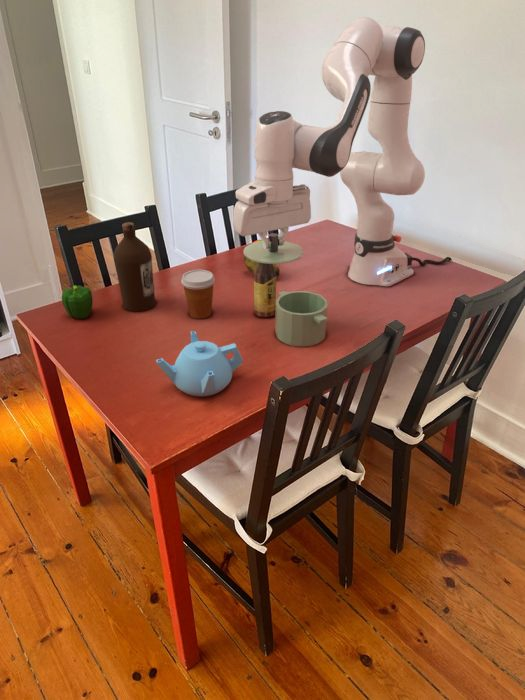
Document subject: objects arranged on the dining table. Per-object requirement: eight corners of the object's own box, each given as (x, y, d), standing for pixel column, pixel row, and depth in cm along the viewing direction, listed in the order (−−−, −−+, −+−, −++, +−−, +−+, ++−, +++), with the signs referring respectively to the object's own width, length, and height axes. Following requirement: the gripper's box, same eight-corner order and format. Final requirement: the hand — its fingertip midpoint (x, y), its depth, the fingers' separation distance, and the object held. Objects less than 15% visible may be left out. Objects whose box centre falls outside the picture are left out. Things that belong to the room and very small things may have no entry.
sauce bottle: (271, 320, 151) (271, 254, 141) (251, 316, 153) (249, 251, 142) (278, 310, 156) (279, 246, 146) (259, 306, 158) (258, 243, 148)
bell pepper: (69, 309, 157) (62, 278, 152) (97, 307, 158) (91, 277, 153) (62, 322, 150) (55, 291, 145) (92, 321, 151) (85, 289, 146)
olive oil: (115, 310, 157) (101, 228, 143) (131, 294, 165) (119, 216, 152) (148, 314, 154) (137, 232, 141) (162, 298, 163) (153, 219, 150)
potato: (261, 285, 171) (261, 262, 166) (240, 272, 180) (239, 249, 175) (282, 279, 174) (282, 256, 170) (260, 266, 183) (260, 244, 179)
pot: (300, 313, 155) (301, 283, 150) (342, 341, 141) (344, 310, 136) (261, 325, 149) (260, 295, 144) (300, 356, 135) (301, 324, 130)
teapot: (212, 410, 117) (209, 369, 111) (157, 391, 123) (152, 351, 117) (246, 374, 128) (245, 336, 123) (194, 358, 134) (191, 321, 129)
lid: (281, 240, 139) (281, 221, 137) (314, 258, 129) (316, 238, 126) (232, 251, 132) (232, 231, 130) (264, 271, 122) (264, 250, 119)
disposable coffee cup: (178, 318, 152) (174, 280, 146) (193, 303, 160) (190, 267, 153) (208, 323, 150) (205, 285, 143) (222, 308, 157) (220, 271, 151)
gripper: (302, 180, 129) (299, 234, 136) (229, 192, 120) (230, 250, 127) (318, 186, 125) (314, 242, 132) (243, 199, 115) (244, 258, 123)
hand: (273, 246), depth 129 cm, fingers closed on lid, 2 cm apart
